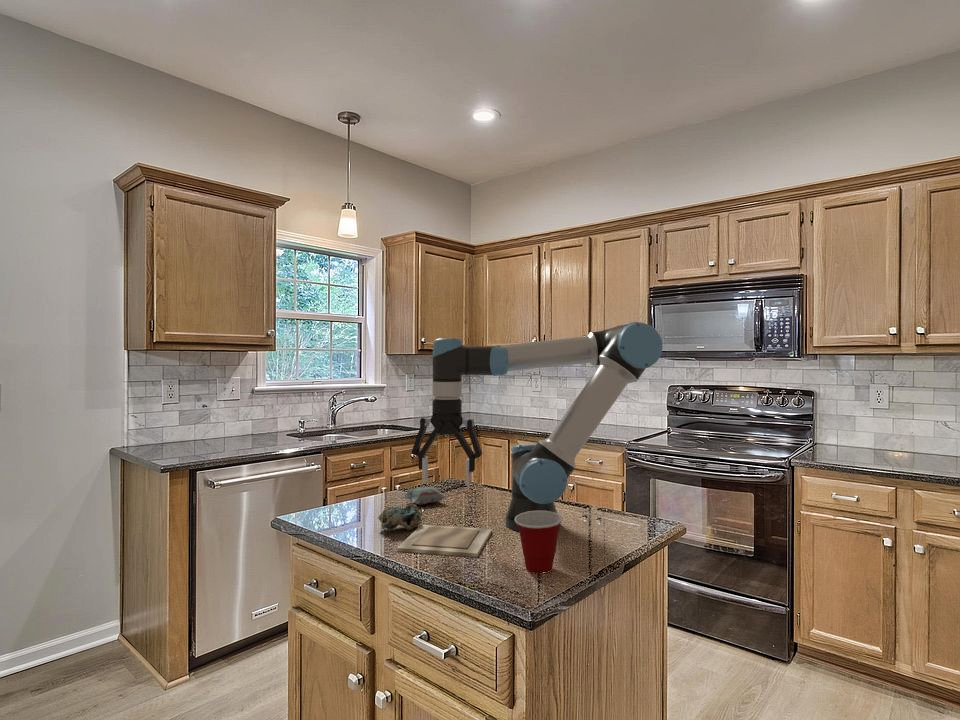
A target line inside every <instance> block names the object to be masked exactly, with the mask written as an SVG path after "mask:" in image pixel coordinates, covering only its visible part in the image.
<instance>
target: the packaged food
mask: <svg viewBox="0 0 960 720" xmlns="http://www.w3.org/2000/svg"><path fill="white" fill-rule="evenodd" d="M447 498H448V495H447V494H446V493H445V494H444V493H442V492H441V491H440V489H439V488H437V487H433V486H423V487H416V488H412V489H409V490H407V492H406V494H405V495H404V499H407V500H409V501H410V502H411V504H415V505H430V504H435V503H438V502H441V501H443V500H445V499H447Z"/></svg>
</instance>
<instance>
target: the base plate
mask: <svg viewBox="0 0 960 720" xmlns="http://www.w3.org/2000/svg"><path fill="white" fill-rule="evenodd" d="M492 533H493V529H492V528H483V527H465V526H450V525H449V526H448V525H434V524H433V525H432V524H420V525H418V526H417V527H416V529H415V530H414V531H412V533H411V534H410V535H409V536H408V537H407V538H406V539H405V540H403V541H402V543H400V544H399V545H398V546H397V547H396V550H397V551H396V552H400V553H415V554H429V555H443V556H457V557H458V556H459V557H470V558H471V557H472V558H478V557H479V555H480V553H481V551H482V550H483V547H485V545H486V543H487V541H488V539H489V538H490V536H491V535H492Z"/></svg>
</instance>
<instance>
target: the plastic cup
mask: <svg viewBox="0 0 960 720" xmlns="http://www.w3.org/2000/svg"><path fill="white" fill-rule="evenodd" d="M514 520H515V522H516V524H517V526H518V529H519V531H518V532H519V536H520V542H521V548H522V554H523V560H524V565H525V569H526V570H528V571H527V572H529V571H530V572H529V573H531V572H534V573H533V574H536V573H543V572H548V571H550V570H551V569H553V566H554V559H555V555H556V550H557V549H556V548H557V543H558V538H559V537H558V536H559V531H560V528H561V527H560V526H561V523H562V521H563V516H562V515H561V513H558V512H557V513H555V512H551V511H528V512H525V513H521V514H519V515H517V516H516V517H515V519H514ZM551 571H552V570H551ZM551 571H550V572H551Z"/></svg>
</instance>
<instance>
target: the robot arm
mask: <svg viewBox="0 0 960 720" xmlns="http://www.w3.org/2000/svg"><path fill="white" fill-rule="evenodd" d="M662 341H663V340H662V337H661V335H660V333H659V331H658V330H657V329H656V328H655V327H654V326H652V325H650V324H648V323H645V322H641V321H634V322H629V323H626V324H619V325H616V326H614V327H611V328H608V329H603V330H599V331H590V332H589V333H588V334H587V335H586V336H578V337H569V338H567V337H566V338H558V339H550V340H548V339H547V340H538V341H537V340H536V341H531V342H530V341H529V342H520V343H511V344H501V345H492V346H491V345H490V346H488V345H486V346H479V345H478V346H466V345H463V341H462V339H461V338H456V337H455V338H452V337H451V338H450V337H449V338H447V337H444V338H443V337H442V338H440V337H439V338H436V339H435V340H434V341H433V344H432V345H433V346H432V394H431V395H432V397H434V398H433V399H432V402H431V404H432V409H431V410H432V412H431V413H432V416H431V417H421V418H420V420H419V429H418V432H417V435H416V439H415V440H414V444H413V446H412V450H411V455H413V456H414V455H415V456H417V457H418V470H420V471H421V483H422V484H427V482H429V456H426V455H427V453H428V452H429V450H430V448H431V446H432V445H433V444H434V442H435V440H436V438H437V437H438V436H439V435H450V436H452V435H453V436H454V437H455V438H456V439H457V441H458V442H459V444H460V446H461V447H462V449H463V451H464V452H465V454H466V456H467V458H466V459H465V486H470V485H471V484H472V473H474V471H475V470H476V459H478V458H480V457H481V456H483V452H482V449H481V445H480V442H479V439H478V436H477V433H476V431H475V428H474V425H475V423H474V422H475V421H474V419H473V418H469V419H468V418H463V416H462V410H463V409H462V405H463V404H462V403H463V402H462V400H461V397H462V394H463V393H462V392H463V391H462V388H463V387H462V385H463V384H462V383H463V381H462V376H493V377H495V376H496V377H497V376H505V375H506V374H507V373H508V372H512V371H513V372H514V371H515V372H516V371H522V370H523V371H525V370H532V369H540V368H541V369H542V368H553V367H560V366H561V367H562V366H570V365H571V366H572V365H579V364H588V363H589V364H591V365H592V366H594V367H597V366H598V367H597V368H596V370H595V371H594V373H593V374H592V376H591V377H590V378H589V380H588V382H586V384H585V385H584V387H583V388H582V390H581V391H580V392H579V393H578V395H577V397H576V398H575V399H574V401H573V402H572V404H571V405H570V406H569V408H568V409H567V410H566V412H565V413H564V415H563V416H562V417H561V419H560V420H559V422H558V423H557V425H556V426H555V427H554V429H553V430H552V431H551V433H550V434H549V436H548V437H547V438H546V439H541V440H538V441H537V443H535V444H514V445H513V446H512V447H511V453H510V457H511V499H510V503H509V506H508V508H507V512H506V515H505V527H506V528H508V529H509V530H512V531H514V532H515V531H516V532H519V529H518V526H517V524H516V522H515V520H514V519H515V517H516V516H517V515H519V514H521V513H525V512H528V511H551V512H555V513H558V511H557V509H556V504H555V502H556V501H558V500H560V499H561V497H562V496H563V495H564V493H565V491H566V489H567V485H568V479H569V477H570V476H571V475H572V473H573V472H574V470H575V469H576V462H575V459H576V457H577V456H578V454H579V453H580V451H581V450H582V449H583V447H584V446H585V445H586V443H587V442H588V441H589V439H590V438H591V436H592V434H593V433H594V431H595V430H596V429H597V428H598V426H599V425H600V424H601V422H602V421H603V419H604V417H605V416H606V415H607V414H608V412H609V411H610V409H611V408H612V406H613V405H614V403H615V402H616V401H617V400H618V398H619V397H620V395H621V394H622V392H624V389H625V388H626V387H627V385H628V384H632V383H637V382H638V381H639V379H640V377H641V376H642V375H643V373H644V372H645V370H646V369H648V368H650V367H652V366H653V365H655V364H656V363H657V362H658V361H659V360H660V358H661V355H662V353H663V342H662ZM430 424H431V425H432V427H433V428H434V429H433V430H432V432H431V433H430V435H429V437H428V438H427V440H426V441H425V443H424V444H423V440H424V437H425V435H426V431H427V429H428V426H430ZM462 425H464V427H465V428H466V429H467V433H468V437H469V439H470V441H471V445H472V447H471V445H470V444H469V442H468V441H467V439H466V437H465V436H464V434H463V431H462V430H461V426H462ZM422 444H423V446H422ZM421 446H422V448H421ZM472 448H473V449H472ZM420 449H421V450H420Z"/></svg>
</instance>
